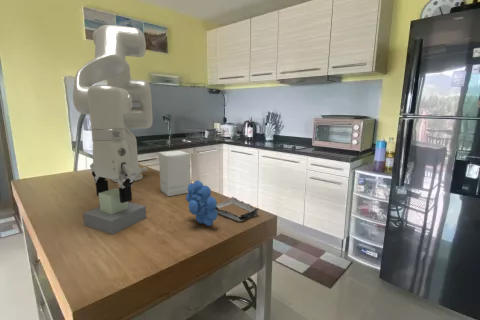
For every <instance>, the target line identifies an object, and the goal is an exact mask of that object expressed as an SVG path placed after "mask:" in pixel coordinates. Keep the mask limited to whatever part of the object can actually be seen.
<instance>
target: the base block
mask: <svg viewBox="0 0 480 320" xmlns="http://www.w3.org/2000/svg"><path fill="white" fill-rule="evenodd" d="M82 216H83V225H84V226H86V227H87V228H91V229H94V230H97V231H100V232H103V233H106V234H110V235H114V234H117V233H118V232H121V231H123V230H125V229H126V228H129V227H131V226H133V225H134V224H137V223H140V222H141V221H143V220H145V219H146V218H147V209H146V205H142V204H137V203H132V202H128V209H125V210H123V211H120V212H117V213H115V214H109V213H106V212H103V211H100V206H98V207H95V208H93V209H90V210H89V209H88V210H87V211H83V212H82Z"/></svg>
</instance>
